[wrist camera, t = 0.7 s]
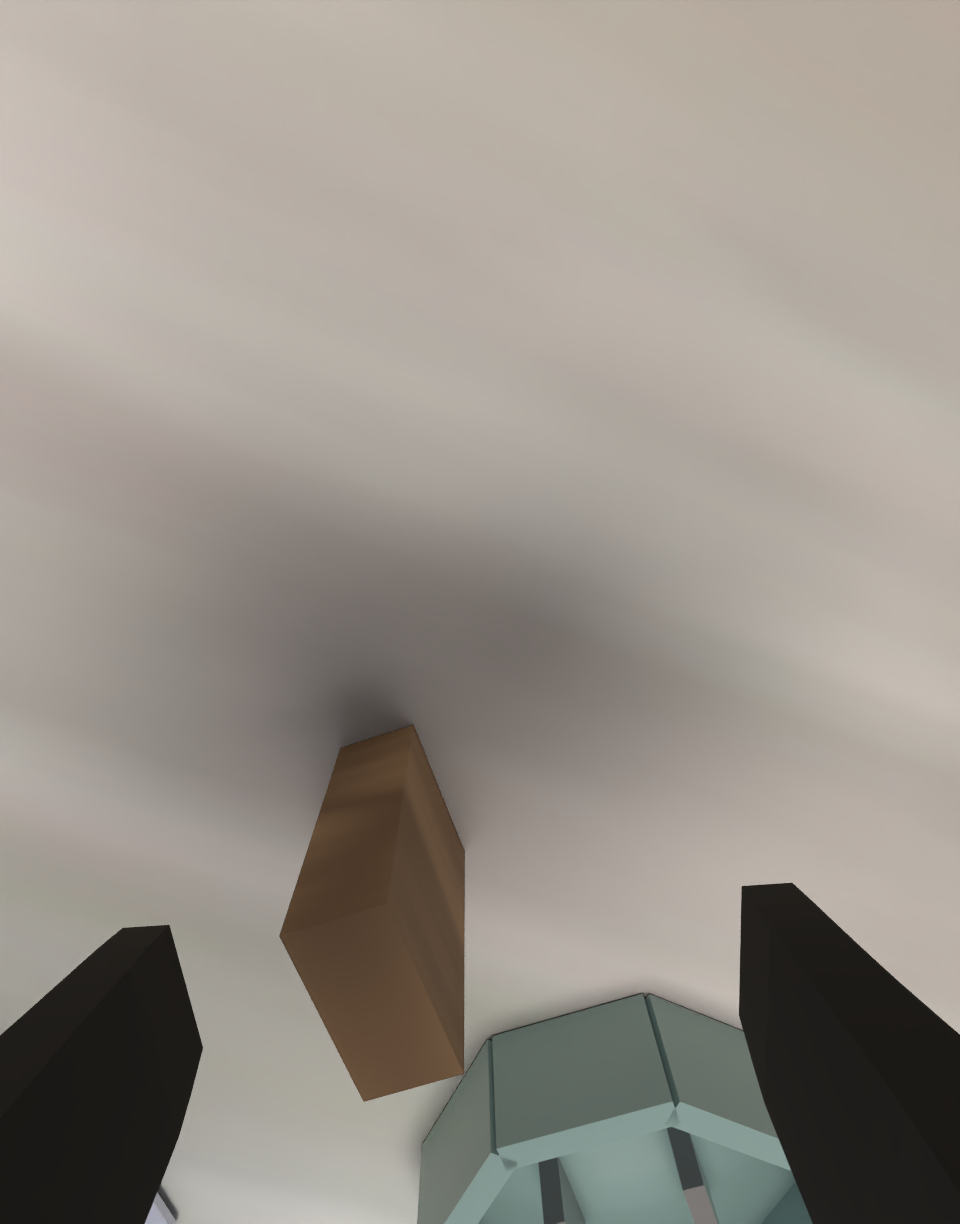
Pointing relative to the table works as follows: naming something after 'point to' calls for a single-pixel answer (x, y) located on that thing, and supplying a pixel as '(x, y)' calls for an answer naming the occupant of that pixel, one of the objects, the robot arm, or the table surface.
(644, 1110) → the bowl
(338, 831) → the wooden block
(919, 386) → the table surface
